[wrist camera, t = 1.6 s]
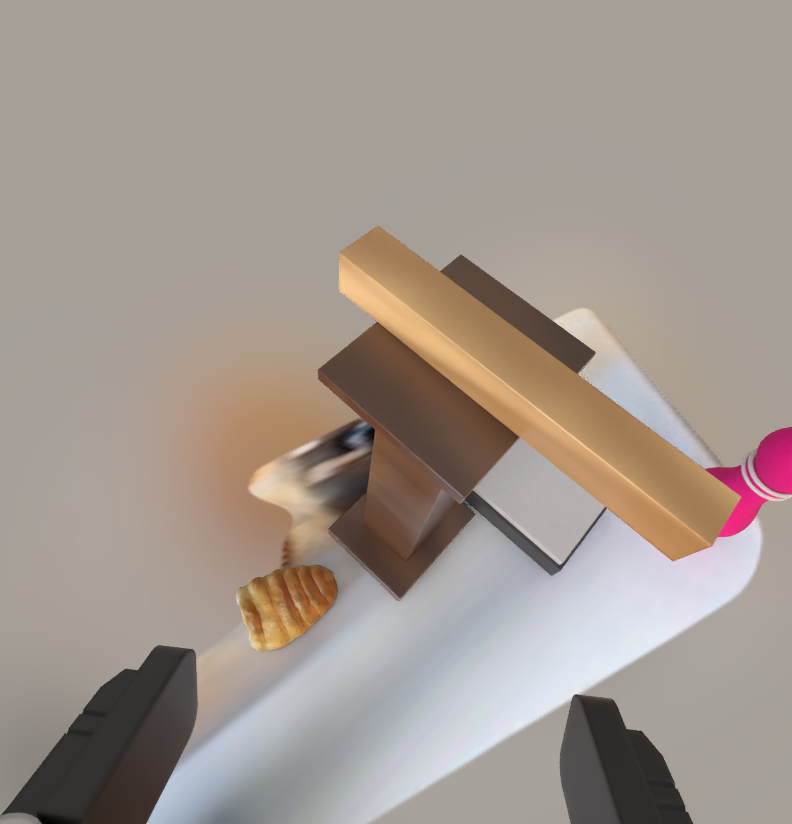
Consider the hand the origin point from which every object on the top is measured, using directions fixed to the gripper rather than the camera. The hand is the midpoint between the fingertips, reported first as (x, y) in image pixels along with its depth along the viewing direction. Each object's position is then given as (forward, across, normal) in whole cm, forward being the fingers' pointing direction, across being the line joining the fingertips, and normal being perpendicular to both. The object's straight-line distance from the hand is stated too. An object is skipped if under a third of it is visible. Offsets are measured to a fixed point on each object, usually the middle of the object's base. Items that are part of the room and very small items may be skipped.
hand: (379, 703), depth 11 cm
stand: (+42, -1, -19) cm, 46 cm away
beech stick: (+19, +5, +2) cm, 19 cm away
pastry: (+35, -11, -25) cm, 45 cm away
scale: (+47, +11, -15) cm, 51 cm away
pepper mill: (+48, +32, -17) cm, 60 cm away
